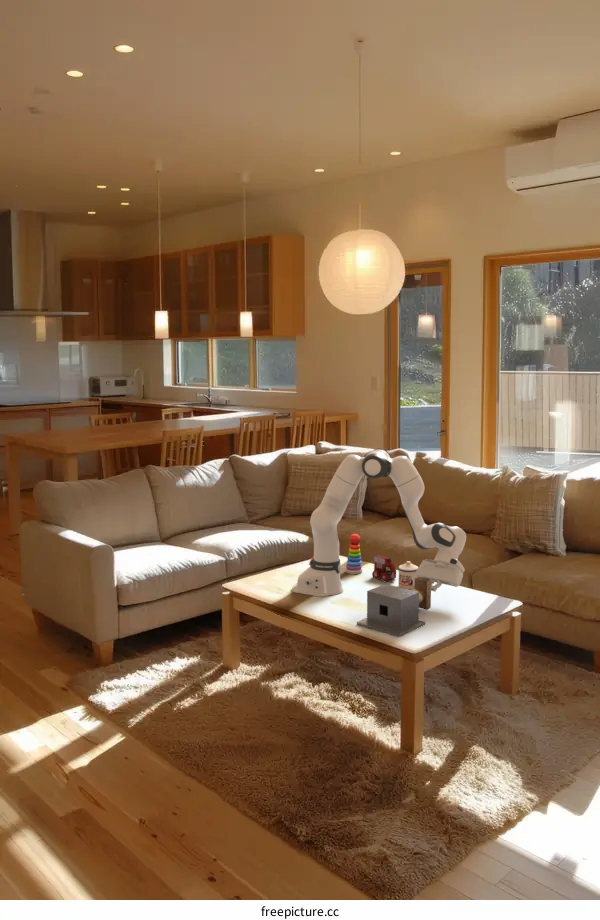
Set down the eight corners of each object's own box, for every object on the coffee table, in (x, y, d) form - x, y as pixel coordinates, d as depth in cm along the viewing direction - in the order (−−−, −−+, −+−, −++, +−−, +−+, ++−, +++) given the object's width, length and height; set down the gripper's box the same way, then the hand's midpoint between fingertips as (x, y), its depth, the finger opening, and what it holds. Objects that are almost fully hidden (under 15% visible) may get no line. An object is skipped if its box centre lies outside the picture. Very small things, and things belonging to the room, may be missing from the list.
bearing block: (384, 613, 330) (384, 581, 328) (425, 624, 317) (426, 592, 315) (356, 624, 317) (356, 592, 315) (398, 637, 304) (399, 603, 302)
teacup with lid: (394, 588, 362) (395, 562, 361) (402, 582, 370) (402, 557, 368) (420, 592, 357) (420, 566, 355) (427, 586, 364) (428, 561, 363)
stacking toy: (352, 575, 381) (353, 536, 378) (342, 571, 387) (342, 533, 384) (365, 572, 386) (365, 534, 383) (354, 569, 392) (355, 531, 389)
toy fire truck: (390, 583, 369) (390, 561, 368) (369, 577, 378) (369, 556, 376) (399, 580, 374) (400, 558, 373) (378, 574, 383) (379, 553, 381)
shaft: (417, 604, 336) (418, 576, 334) (431, 608, 332) (431, 579, 330) (387, 617, 321) (387, 588, 319) (400, 621, 316) (401, 591, 314)
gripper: (421, 554, 347) (407, 581, 341) (462, 562, 333) (449, 591, 328) (426, 561, 351) (413, 589, 345) (468, 570, 337) (455, 599, 331)
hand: (431, 590), depth 336 cm, fingers closed
